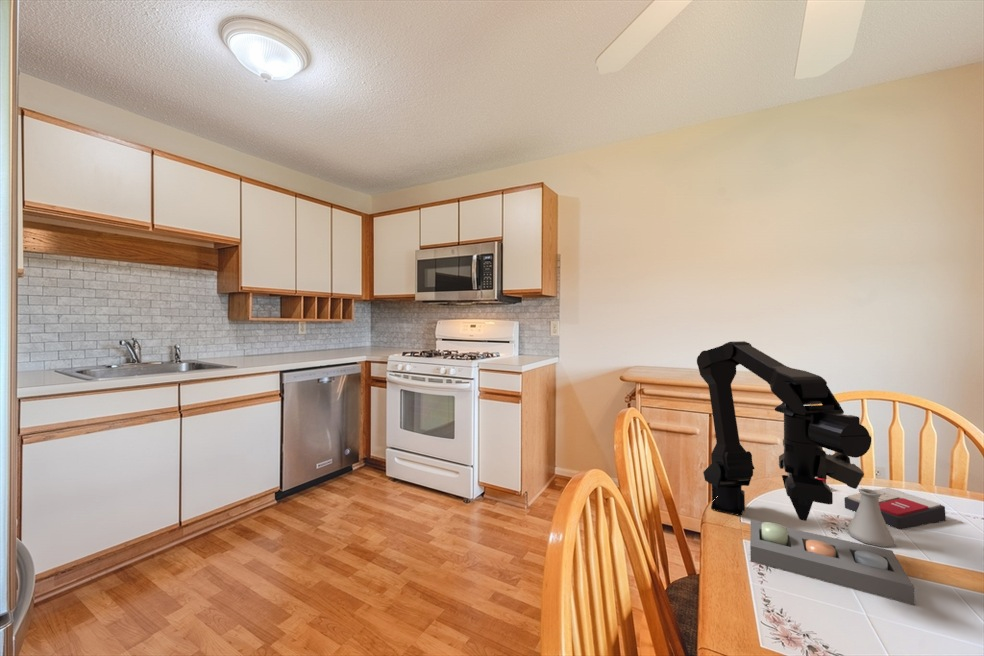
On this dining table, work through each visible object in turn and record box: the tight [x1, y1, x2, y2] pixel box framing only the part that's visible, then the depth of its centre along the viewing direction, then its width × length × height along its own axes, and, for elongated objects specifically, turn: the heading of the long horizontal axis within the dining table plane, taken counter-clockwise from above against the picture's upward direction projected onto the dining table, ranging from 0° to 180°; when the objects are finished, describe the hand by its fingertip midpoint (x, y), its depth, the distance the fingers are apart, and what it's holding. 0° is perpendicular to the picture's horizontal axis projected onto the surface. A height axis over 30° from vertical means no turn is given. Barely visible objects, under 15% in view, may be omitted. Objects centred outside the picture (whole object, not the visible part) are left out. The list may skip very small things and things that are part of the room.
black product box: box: [844, 487, 947, 530], centre depth 92 cm, size 11×4×15 cm
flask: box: [846, 488, 897, 548], centre depth 82 cm, size 7×7×10 cm
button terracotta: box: [806, 540, 835, 558], centre depth 73 cm, size 4×4×3 cm
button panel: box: [749, 519, 916, 606], centre depth 73 cm, size 22×12×3 cm, turn 56°
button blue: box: [855, 551, 888, 570], centre depth 69 cm, size 4×4×3 cm
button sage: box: [762, 521, 788, 546], centre depth 77 cm, size 4×4×3 cm
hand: (802, 519), depth 75 cm, fingers closed
